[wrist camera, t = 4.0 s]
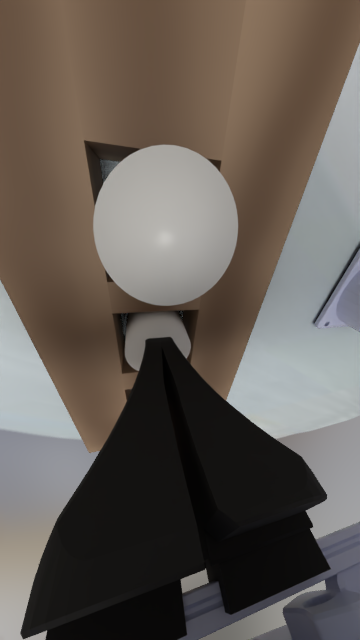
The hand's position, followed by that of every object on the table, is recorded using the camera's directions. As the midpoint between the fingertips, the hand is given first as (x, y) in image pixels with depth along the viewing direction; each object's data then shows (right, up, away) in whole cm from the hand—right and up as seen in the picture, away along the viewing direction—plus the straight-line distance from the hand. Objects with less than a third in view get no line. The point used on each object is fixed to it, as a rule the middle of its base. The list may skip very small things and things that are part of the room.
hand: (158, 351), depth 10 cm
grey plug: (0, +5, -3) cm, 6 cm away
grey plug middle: (-1, +2, +2) cm, 3 cm away
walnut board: (-1, +2, +3) cm, 4 cm away
